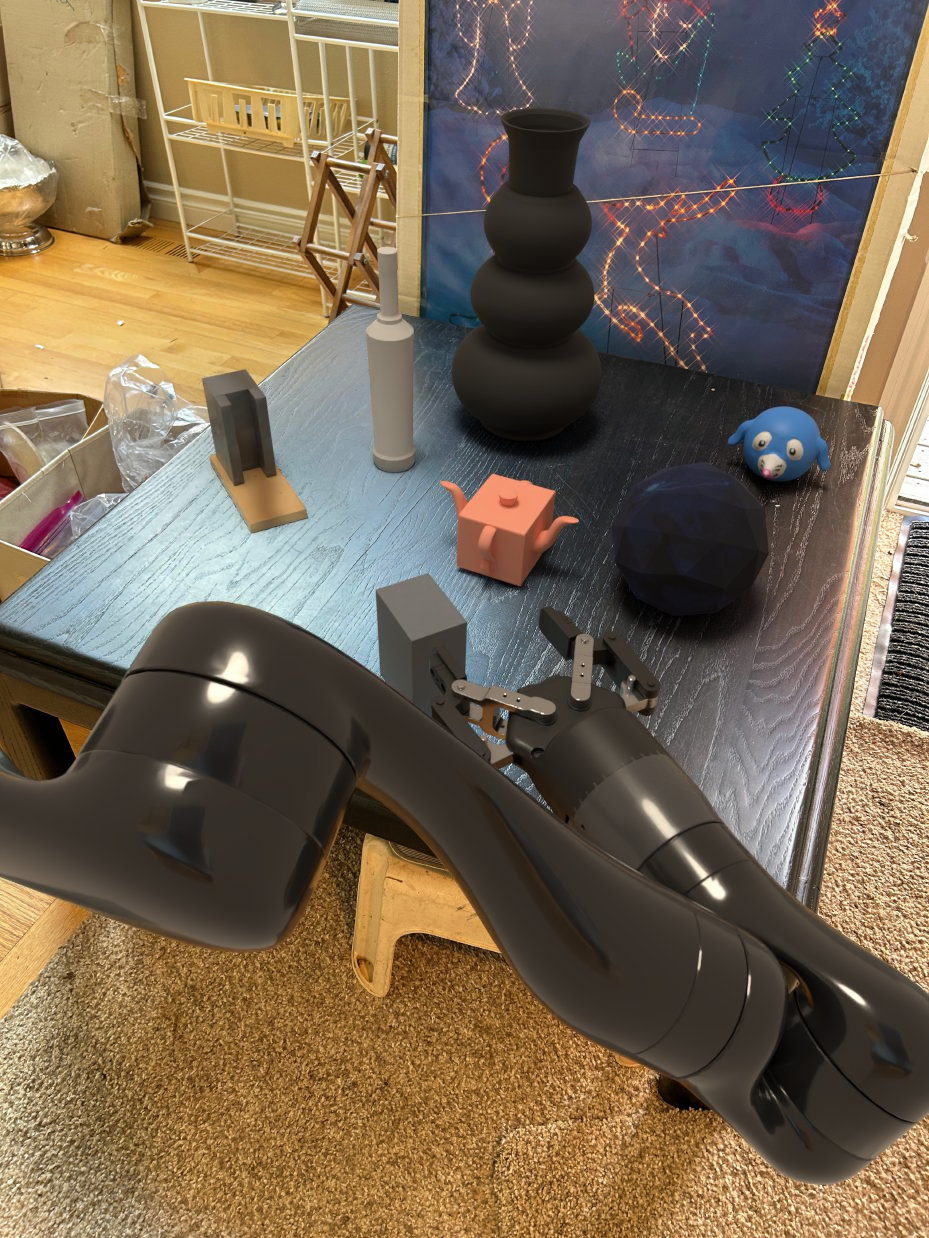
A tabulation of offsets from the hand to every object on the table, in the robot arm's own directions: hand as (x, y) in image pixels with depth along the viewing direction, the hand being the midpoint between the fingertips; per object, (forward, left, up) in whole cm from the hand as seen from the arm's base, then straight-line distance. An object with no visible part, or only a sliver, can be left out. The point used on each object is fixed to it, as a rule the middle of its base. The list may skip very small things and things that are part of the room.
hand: (490, 634), depth 63 cm
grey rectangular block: (-2, +11, -16) cm, 20 cm away
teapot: (+11, +27, -16) cm, 33 cm away
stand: (-13, +46, -16) cm, 50 cm away
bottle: (+4, +48, -16) cm, 51 cm away
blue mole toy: (+46, +33, -16) cm, 59 cm away
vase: (+22, +53, -16) cm, 59 cm away
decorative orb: (+26, +17, -16) cm, 35 cm away
